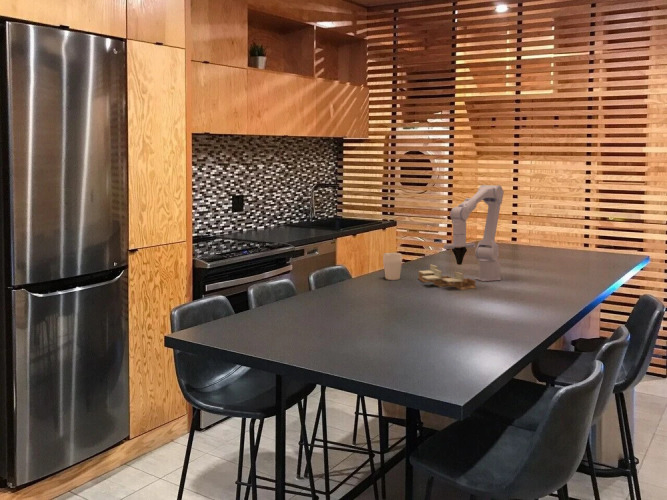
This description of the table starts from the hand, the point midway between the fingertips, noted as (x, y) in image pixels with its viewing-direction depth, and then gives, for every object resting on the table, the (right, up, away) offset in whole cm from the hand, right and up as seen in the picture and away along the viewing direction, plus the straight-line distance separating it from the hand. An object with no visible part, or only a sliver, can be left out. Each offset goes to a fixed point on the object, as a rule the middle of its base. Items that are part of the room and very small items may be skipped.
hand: (459, 264), depth 299 cm
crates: (-5, -9, +7) cm, 12 cm away
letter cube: (-12, -8, +17) cm, 22 cm away
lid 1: (-12, -4, +16) cm, 20 cm away
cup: (-28, -8, +23) cm, 37 cm away
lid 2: (-12, -6, +3) cm, 14 cm away
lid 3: (-4, -7, -4) cm, 9 cm away
